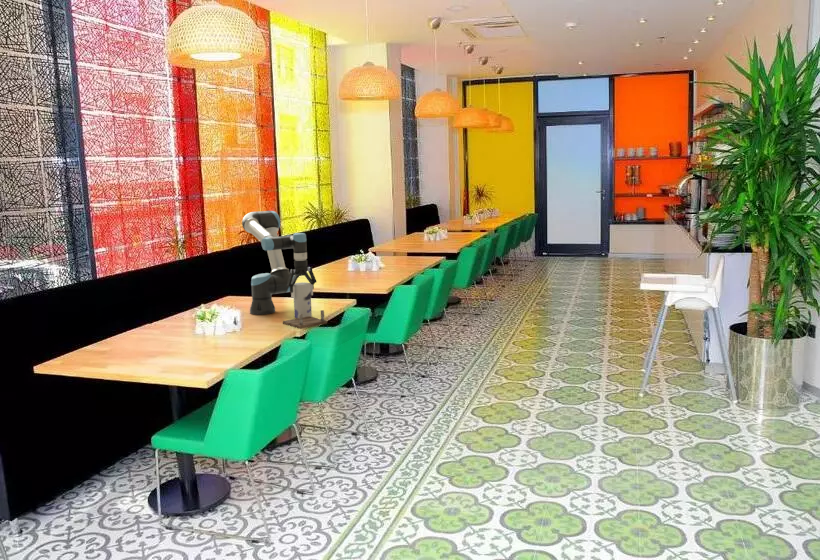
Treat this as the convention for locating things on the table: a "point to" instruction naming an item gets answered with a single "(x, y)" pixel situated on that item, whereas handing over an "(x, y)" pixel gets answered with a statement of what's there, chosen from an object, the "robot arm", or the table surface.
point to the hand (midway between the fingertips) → (302, 296)
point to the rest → (306, 321)
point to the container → (302, 299)
